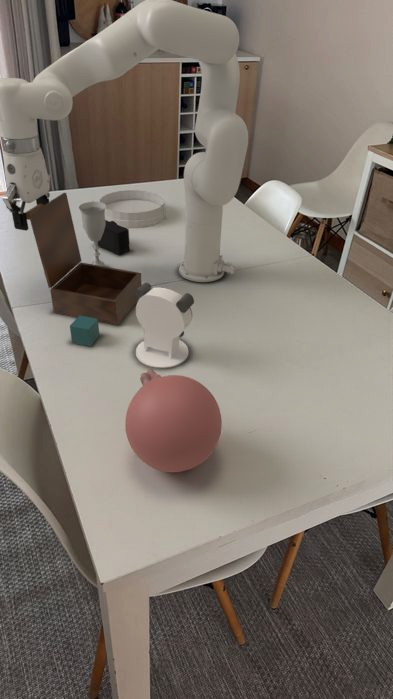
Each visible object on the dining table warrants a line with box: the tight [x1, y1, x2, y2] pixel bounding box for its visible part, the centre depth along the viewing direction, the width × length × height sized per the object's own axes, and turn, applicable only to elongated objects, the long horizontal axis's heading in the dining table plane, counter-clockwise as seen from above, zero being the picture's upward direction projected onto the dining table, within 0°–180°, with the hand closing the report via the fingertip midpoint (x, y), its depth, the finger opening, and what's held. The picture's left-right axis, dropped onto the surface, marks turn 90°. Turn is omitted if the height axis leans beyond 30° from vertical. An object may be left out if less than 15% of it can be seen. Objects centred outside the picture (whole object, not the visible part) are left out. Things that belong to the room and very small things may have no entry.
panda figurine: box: [135, 282, 195, 369], centre depth 105 cm, size 12×11×15 cm
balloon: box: [124, 368, 223, 473], centre depth 83 cm, size 15×20×15 cm
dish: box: [99, 189, 166, 229], centre depth 172 cm, size 22×22×5 cm
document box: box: [49, 262, 143, 326], centre depth 124 cm, size 17×15×6 cm
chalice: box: [78, 201, 107, 267], centre depth 134 cm, size 7×7×18 cm
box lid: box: [24, 192, 82, 289], centre depth 119 cm, size 17×15×5 cm
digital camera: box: [98, 220, 131, 256], centre depth 150 cm, size 10×5×7 cm, turn 50°
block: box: [69, 315, 100, 347], centre depth 112 cm, size 4×4×4 cm
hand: (33, 221), depth 118 cm, fingers open, 9 cm apart
